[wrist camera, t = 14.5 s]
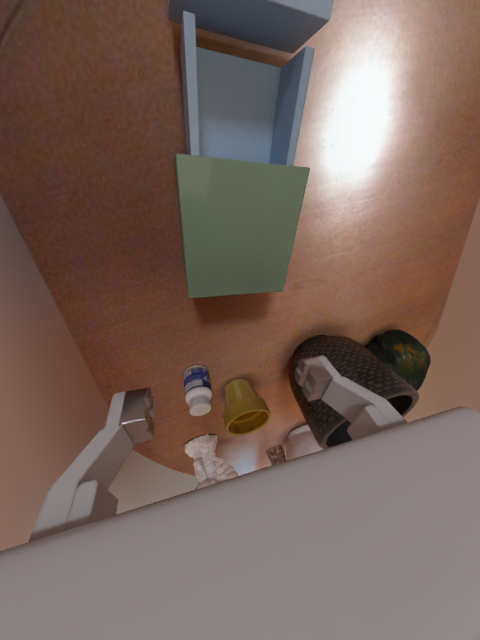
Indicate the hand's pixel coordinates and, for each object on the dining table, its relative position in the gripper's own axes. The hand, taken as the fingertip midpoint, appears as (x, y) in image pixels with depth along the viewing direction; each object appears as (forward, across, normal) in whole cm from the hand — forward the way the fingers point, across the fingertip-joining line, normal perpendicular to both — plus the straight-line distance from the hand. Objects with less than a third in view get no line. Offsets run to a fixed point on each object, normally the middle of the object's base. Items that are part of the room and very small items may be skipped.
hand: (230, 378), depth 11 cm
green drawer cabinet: (+23, -5, -3) cm, 23 cm away
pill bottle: (+23, +2, +27) cm, 35 cm away
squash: (+23, -49, +29) cm, 62 cm away
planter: (+23, -27, +26) cm, 44 cm away
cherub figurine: (+23, +1, +62) cm, 66 cm away
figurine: (+23, -27, +86) cm, 93 cm away
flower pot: (+23, -8, +35) cm, 43 cm away
